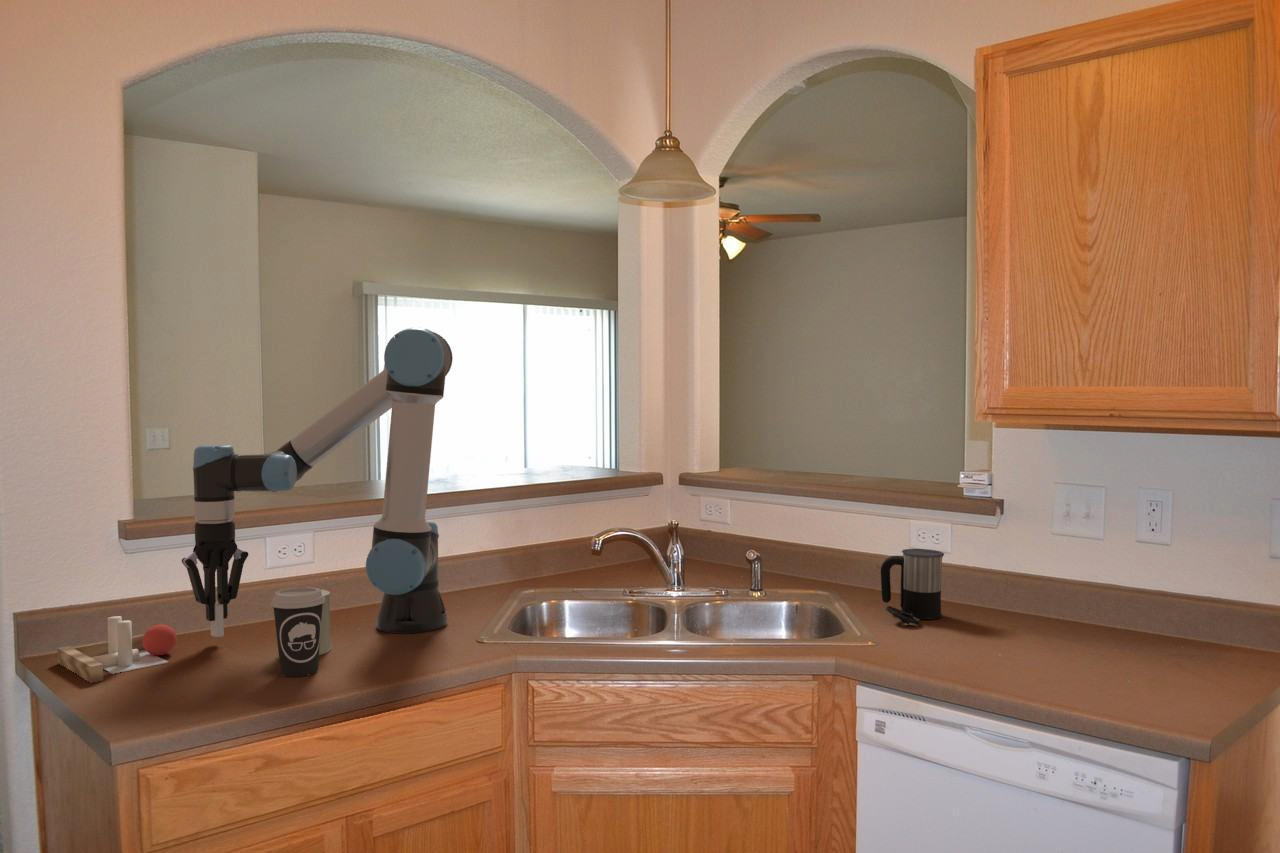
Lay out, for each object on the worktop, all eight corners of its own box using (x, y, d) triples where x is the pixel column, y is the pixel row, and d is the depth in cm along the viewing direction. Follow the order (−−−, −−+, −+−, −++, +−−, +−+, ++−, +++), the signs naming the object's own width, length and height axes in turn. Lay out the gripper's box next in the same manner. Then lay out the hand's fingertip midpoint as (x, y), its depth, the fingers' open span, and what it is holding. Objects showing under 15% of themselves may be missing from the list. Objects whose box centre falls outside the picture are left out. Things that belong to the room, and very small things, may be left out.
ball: (145, 655, 185) (176, 658, 190) (153, 623, 187) (184, 627, 191) (134, 652, 190) (165, 655, 194) (142, 621, 191) (173, 625, 195)
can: (272, 653, 191) (271, 593, 191) (308, 642, 199) (307, 585, 199) (306, 660, 187) (304, 598, 186) (341, 648, 195) (340, 589, 194)
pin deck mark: (168, 662, 185) (168, 661, 185) (112, 674, 178) (112, 673, 178) (144, 651, 193) (144, 650, 193) (89, 661, 186) (89, 660, 186)
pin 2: (134, 666, 183) (133, 621, 182) (121, 669, 181) (119, 624, 181) (129, 663, 184) (128, 619, 184) (116, 666, 183) (115, 622, 182)
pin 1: (124, 661, 186) (123, 617, 186) (111, 663, 184) (110, 619, 184) (120, 658, 188) (119, 615, 187) (106, 661, 186) (105, 617, 186)
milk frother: (936, 611, 226) (937, 548, 225) (956, 628, 210) (957, 560, 210) (875, 610, 227) (876, 548, 226) (890, 627, 211) (890, 560, 210)
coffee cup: (336, 666, 183) (335, 587, 182) (308, 681, 173) (306, 598, 173) (291, 662, 185) (289, 585, 184) (260, 677, 175) (259, 595, 175)
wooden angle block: (193, 661, 186) (193, 646, 185) (91, 683, 172) (90, 666, 172) (156, 645, 198) (156, 630, 198) (58, 663, 184) (57, 648, 184)
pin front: (139, 649, 186) (90, 658, 180) (139, 661, 186) (91, 671, 180) (134, 647, 187) (86, 656, 181) (135, 660, 187) (86, 669, 181)
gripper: (237, 515, 204) (240, 626, 205) (174, 522, 195) (176, 638, 196) (254, 519, 199) (256, 632, 200) (189, 526, 189) (192, 645, 190)
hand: (217, 635), depth 198 cm, fingers closed
